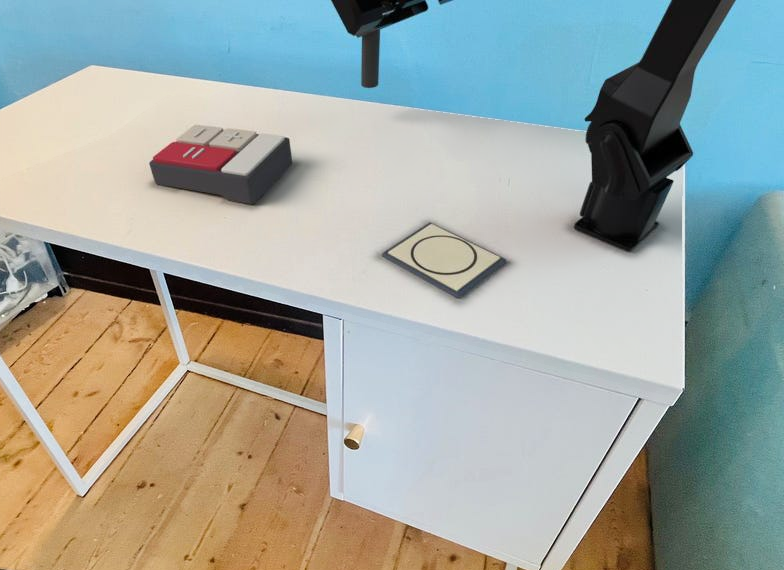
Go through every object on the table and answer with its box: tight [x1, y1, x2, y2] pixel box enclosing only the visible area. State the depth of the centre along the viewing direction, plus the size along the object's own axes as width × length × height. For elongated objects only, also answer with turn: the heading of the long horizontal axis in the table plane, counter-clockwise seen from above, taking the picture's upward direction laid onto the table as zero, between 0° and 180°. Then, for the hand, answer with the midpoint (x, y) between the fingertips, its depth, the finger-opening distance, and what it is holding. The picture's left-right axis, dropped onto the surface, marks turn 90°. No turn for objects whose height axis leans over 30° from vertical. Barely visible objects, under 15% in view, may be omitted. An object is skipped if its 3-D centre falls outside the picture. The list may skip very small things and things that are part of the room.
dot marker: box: [360, 29, 381, 89], centre depth 76 cm, size 2×2×10 cm
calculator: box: [148, 124, 293, 205], centre depth 73 cm, size 11×4×15 cm
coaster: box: [381, 221, 507, 299], centre depth 60 cm, size 10×8×1 cm
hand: (363, 31), depth 76 cm, fingers closed on dot marker, 2 cm apart
